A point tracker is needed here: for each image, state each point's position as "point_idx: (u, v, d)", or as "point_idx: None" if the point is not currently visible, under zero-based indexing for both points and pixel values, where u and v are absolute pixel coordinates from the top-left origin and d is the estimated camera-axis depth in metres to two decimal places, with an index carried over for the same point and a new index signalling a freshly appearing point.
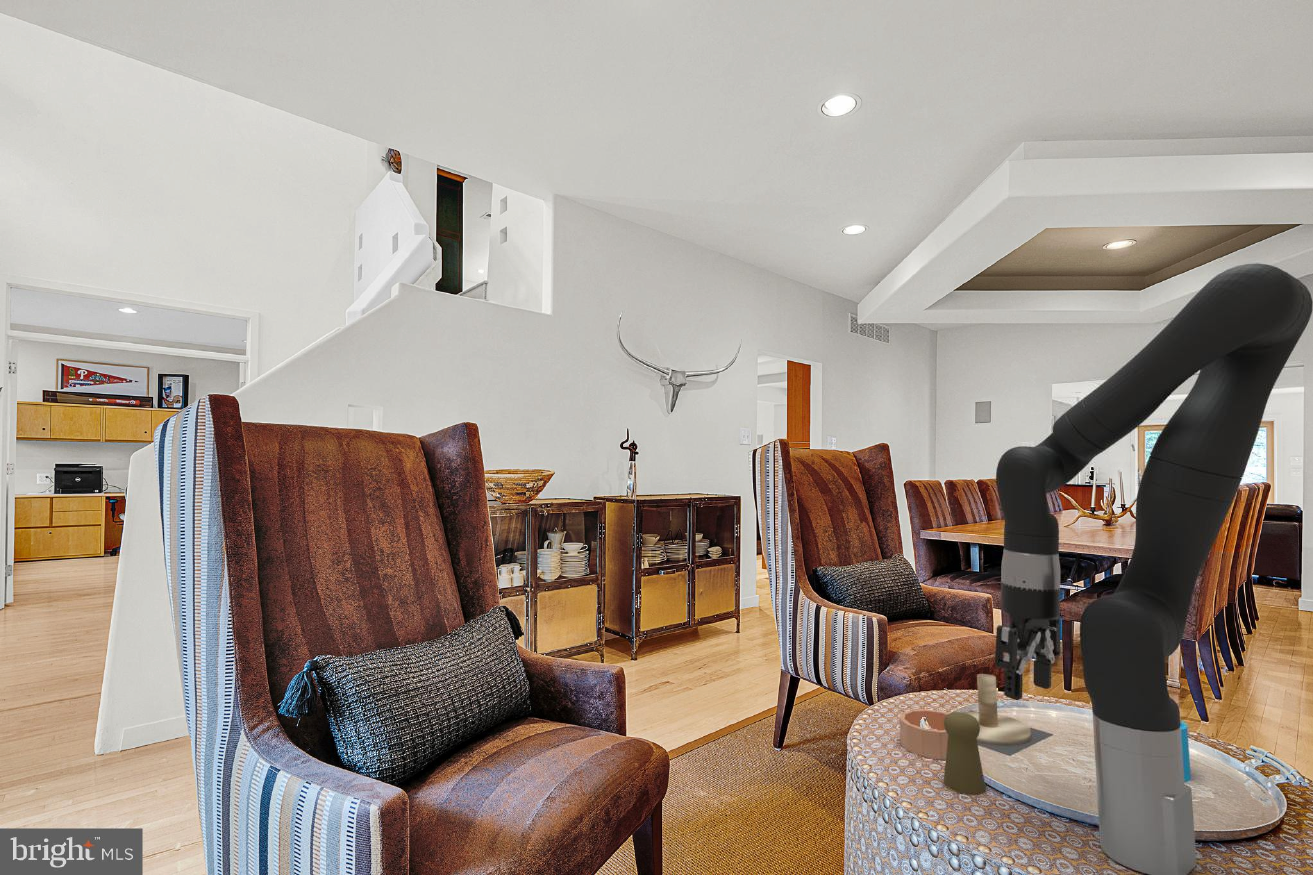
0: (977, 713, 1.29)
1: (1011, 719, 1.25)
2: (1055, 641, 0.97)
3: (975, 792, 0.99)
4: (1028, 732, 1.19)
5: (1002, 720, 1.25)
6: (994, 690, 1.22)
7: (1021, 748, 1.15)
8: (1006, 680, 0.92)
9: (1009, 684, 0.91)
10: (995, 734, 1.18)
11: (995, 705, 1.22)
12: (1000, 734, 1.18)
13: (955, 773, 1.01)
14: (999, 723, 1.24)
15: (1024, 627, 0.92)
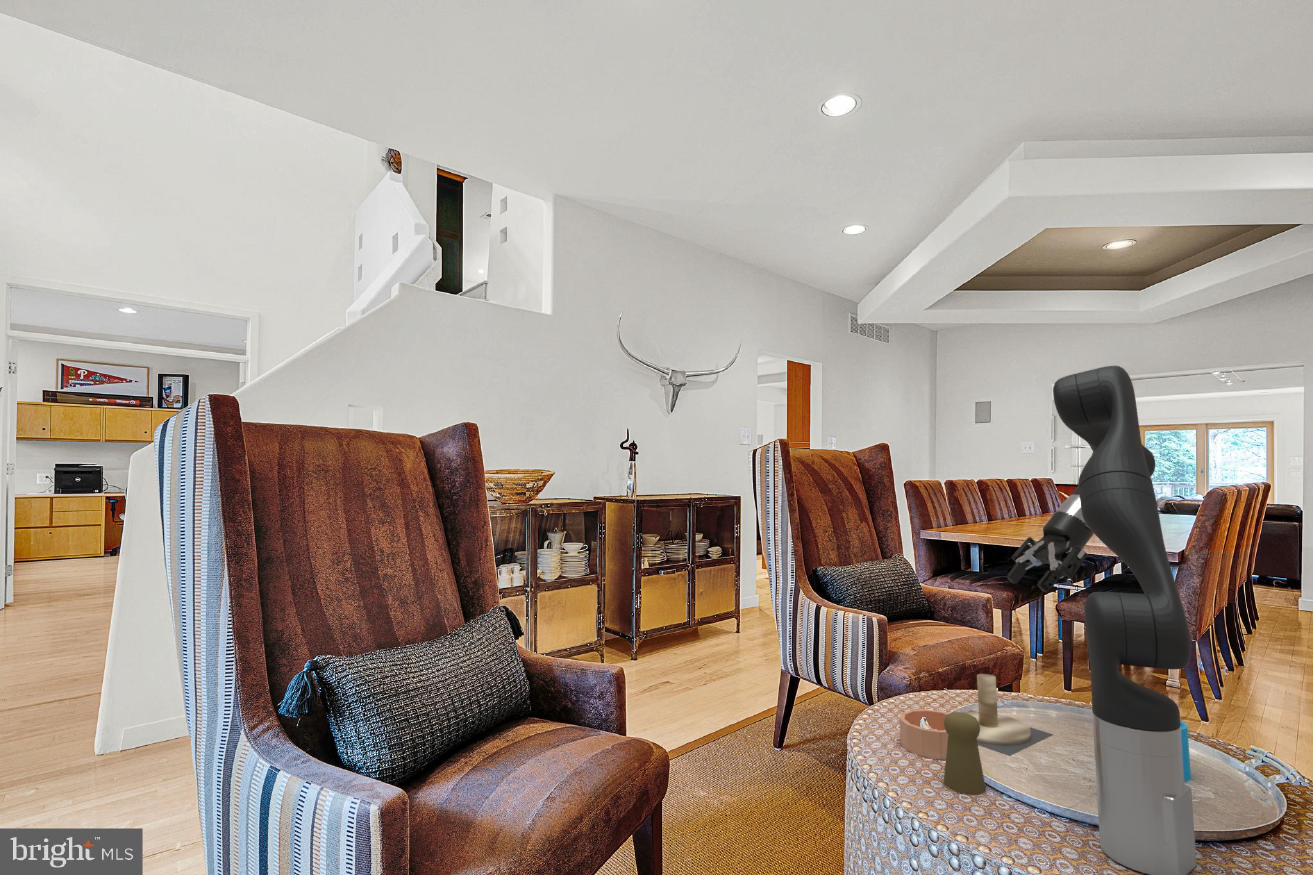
0: (977, 713, 1.29)
1: (1011, 719, 1.25)
2: None
3: (975, 792, 0.99)
4: (1028, 732, 1.19)
5: (1002, 720, 1.25)
6: (994, 690, 1.22)
7: (1021, 748, 1.15)
8: None
9: None
10: (995, 734, 1.18)
11: (995, 705, 1.22)
12: (1000, 734, 1.18)
13: (955, 773, 1.01)
14: (999, 723, 1.24)
15: None
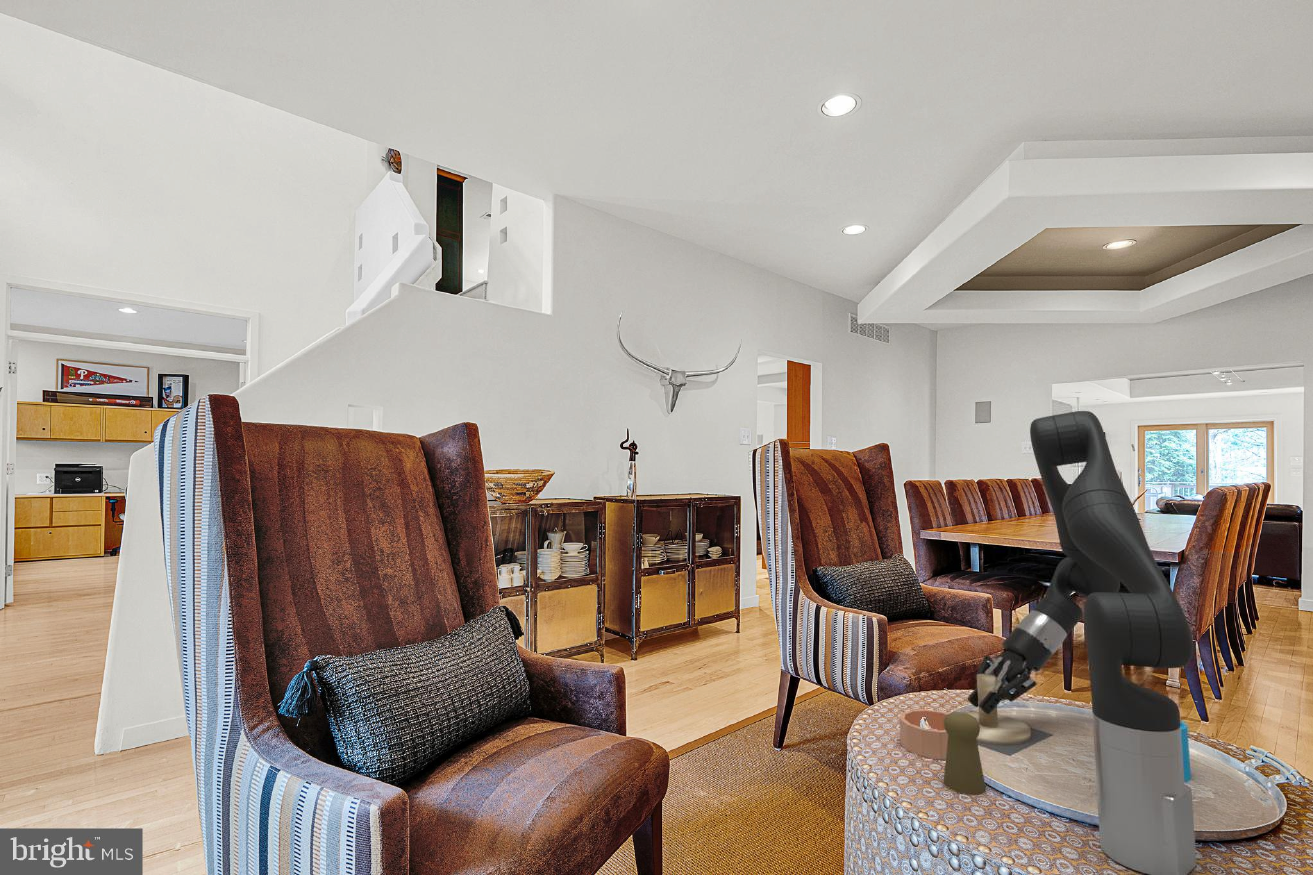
0: (977, 713, 1.29)
1: (1011, 719, 1.26)
2: None
3: (975, 792, 0.99)
4: (1028, 732, 1.19)
5: (1002, 720, 1.25)
6: None
7: (1021, 748, 1.15)
8: None
9: None
10: (995, 734, 1.18)
11: None
12: (1000, 734, 1.18)
13: (955, 773, 1.01)
14: (999, 723, 1.24)
15: (998, 655, 1.28)
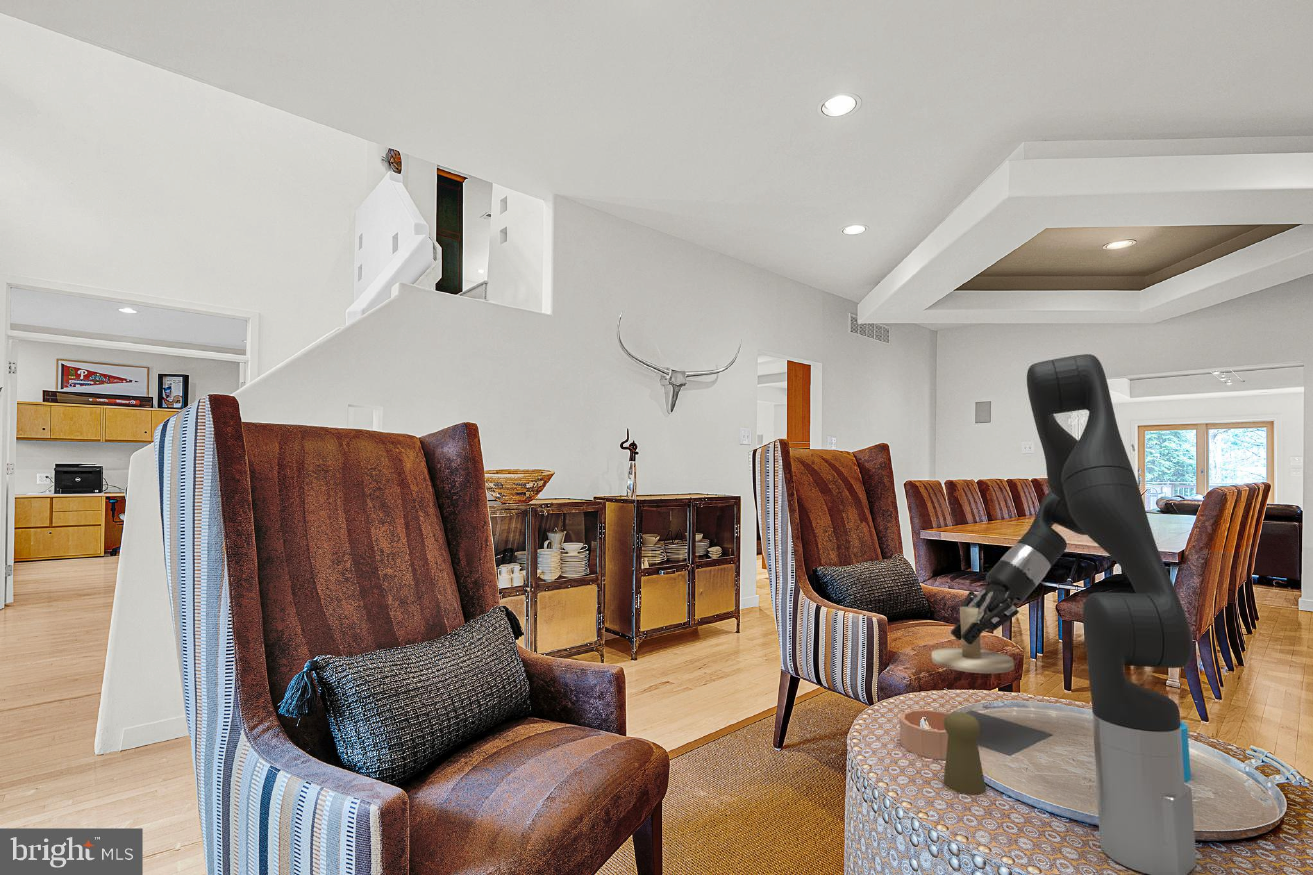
0: (961, 649, 1.28)
1: (995, 653, 1.24)
2: None
3: (975, 792, 0.99)
4: (1011, 662, 1.18)
5: (985, 653, 1.24)
6: None
7: (1021, 748, 1.15)
8: None
9: None
10: (977, 663, 1.17)
11: None
12: (982, 663, 1.17)
13: (955, 773, 1.01)
14: (982, 655, 1.22)
15: (982, 589, 1.27)
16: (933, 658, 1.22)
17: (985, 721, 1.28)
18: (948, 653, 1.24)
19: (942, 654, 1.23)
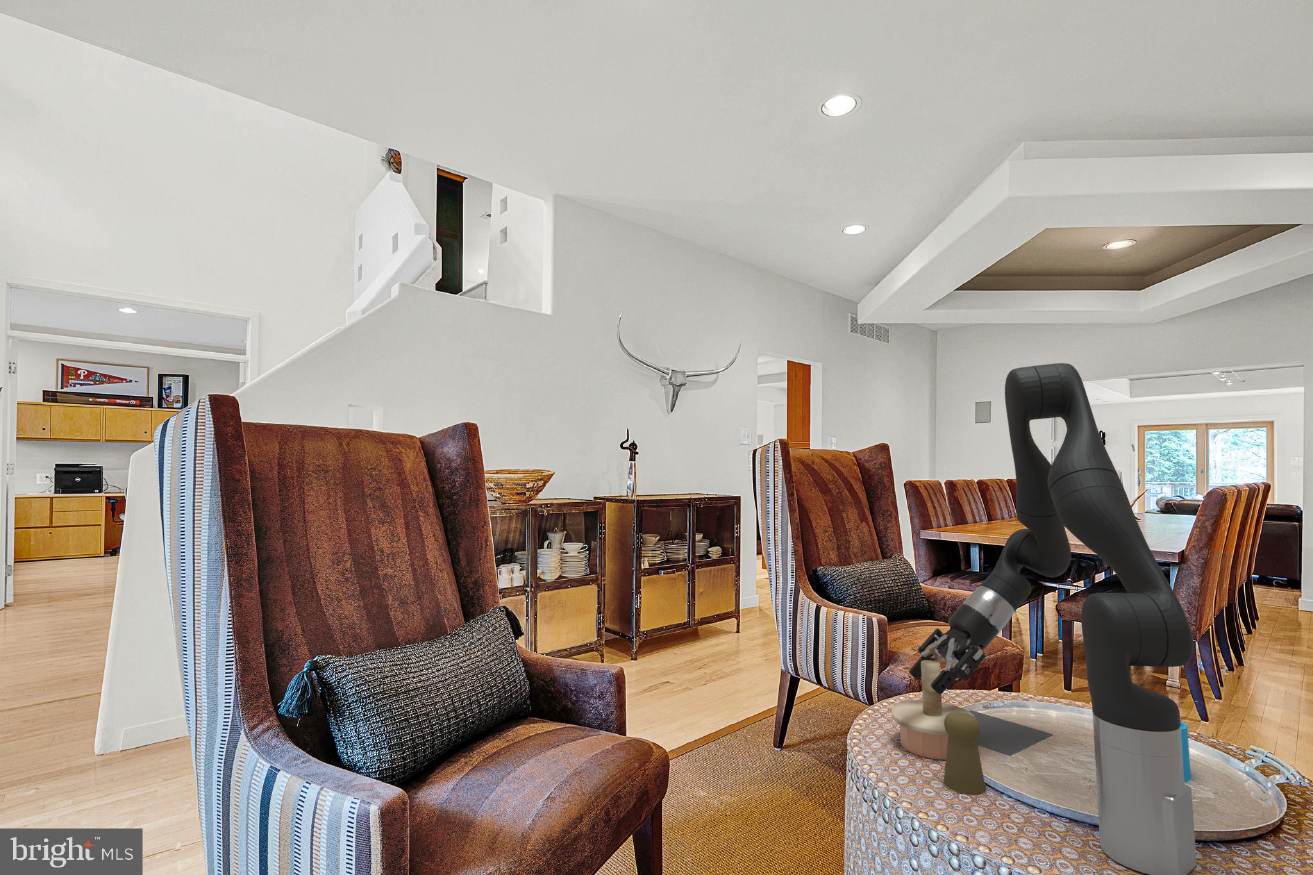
0: None
1: (957, 708, 1.19)
2: None
3: (975, 792, 0.99)
4: None
5: (947, 709, 1.19)
6: None
7: (1021, 748, 1.15)
8: None
9: None
10: (937, 723, 1.12)
11: None
12: (942, 723, 1.12)
13: (955, 773, 1.01)
14: (944, 712, 1.17)
15: (946, 632, 1.22)
16: (893, 715, 1.17)
17: (985, 721, 1.28)
18: (909, 708, 1.19)
19: (902, 710, 1.18)
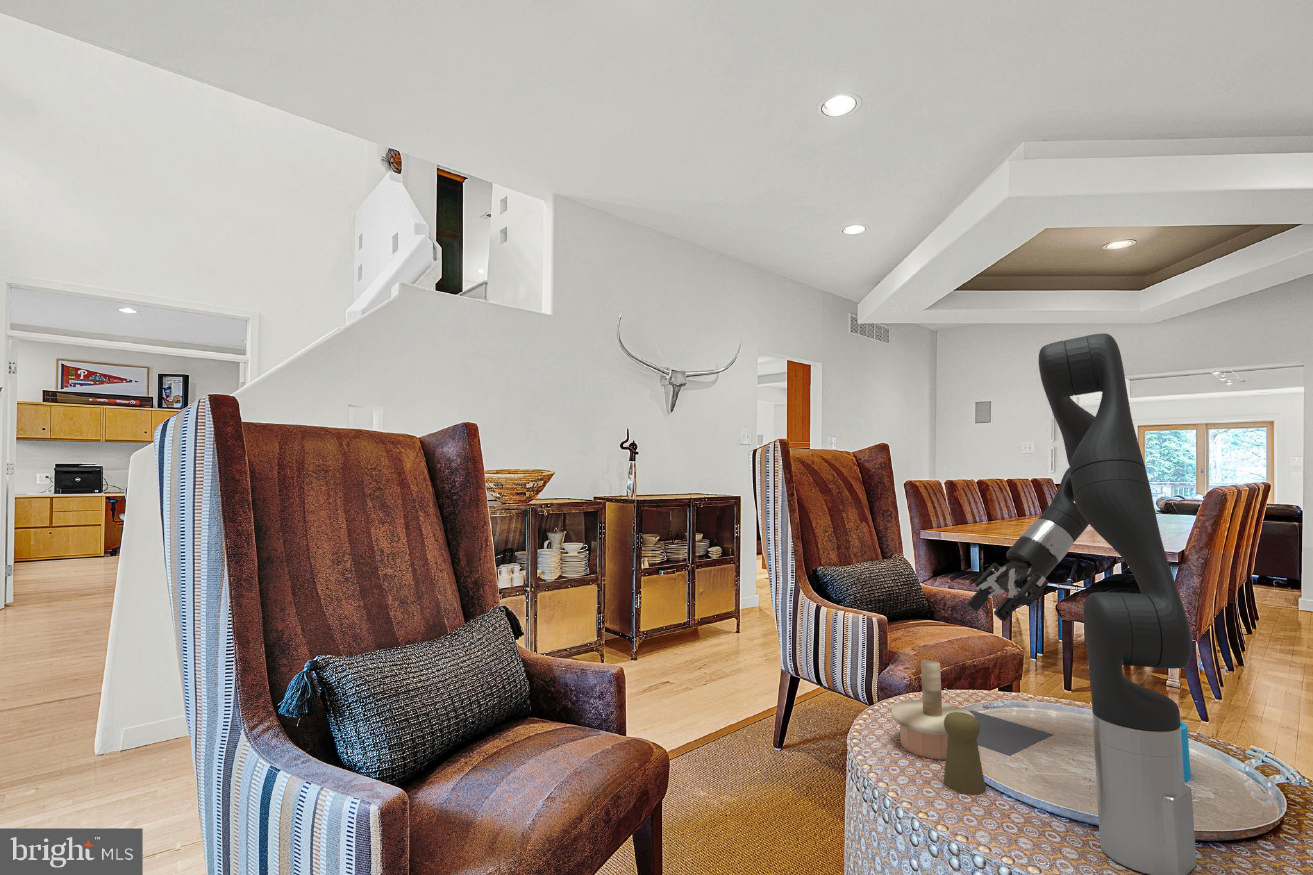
0: None
1: (957, 708, 1.19)
2: None
3: (975, 792, 0.99)
4: None
5: (947, 709, 1.19)
6: (938, 677, 1.16)
7: (1021, 748, 1.15)
8: None
9: None
10: (937, 723, 1.12)
11: (939, 693, 1.16)
12: (942, 723, 1.12)
13: (955, 773, 1.01)
14: (944, 712, 1.17)
15: None
16: (893, 715, 1.17)
17: (985, 721, 1.28)
18: (909, 708, 1.19)
19: (902, 710, 1.18)
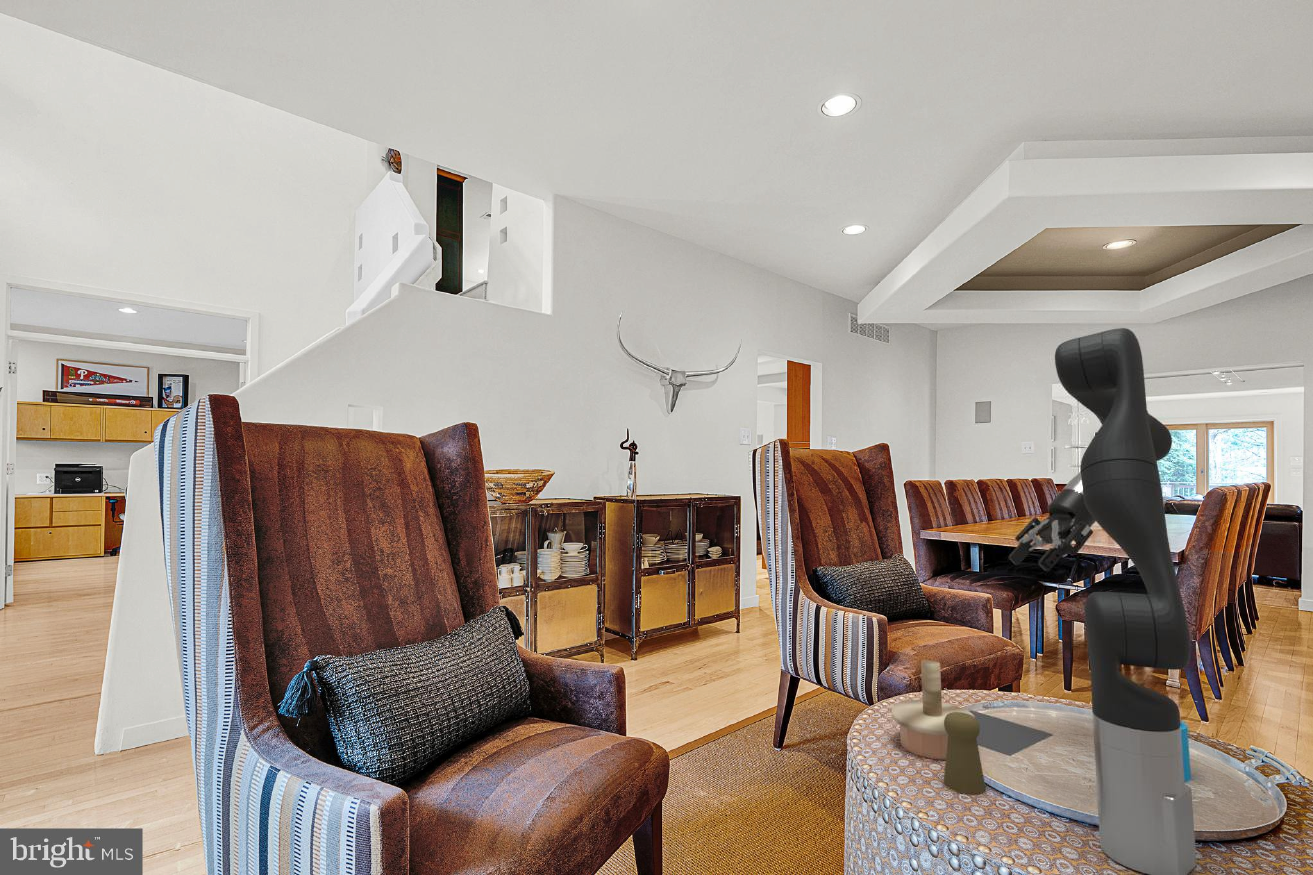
0: None
1: (957, 708, 1.19)
2: None
3: (975, 792, 0.99)
4: None
5: (947, 709, 1.19)
6: (938, 677, 1.16)
7: (1021, 748, 1.15)
8: None
9: None
10: (937, 723, 1.12)
11: (939, 693, 1.16)
12: (942, 723, 1.12)
13: (955, 773, 1.01)
14: (944, 712, 1.17)
15: (1045, 519, 1.23)
16: (893, 715, 1.17)
17: (985, 721, 1.28)
18: (909, 708, 1.19)
19: (902, 710, 1.18)
